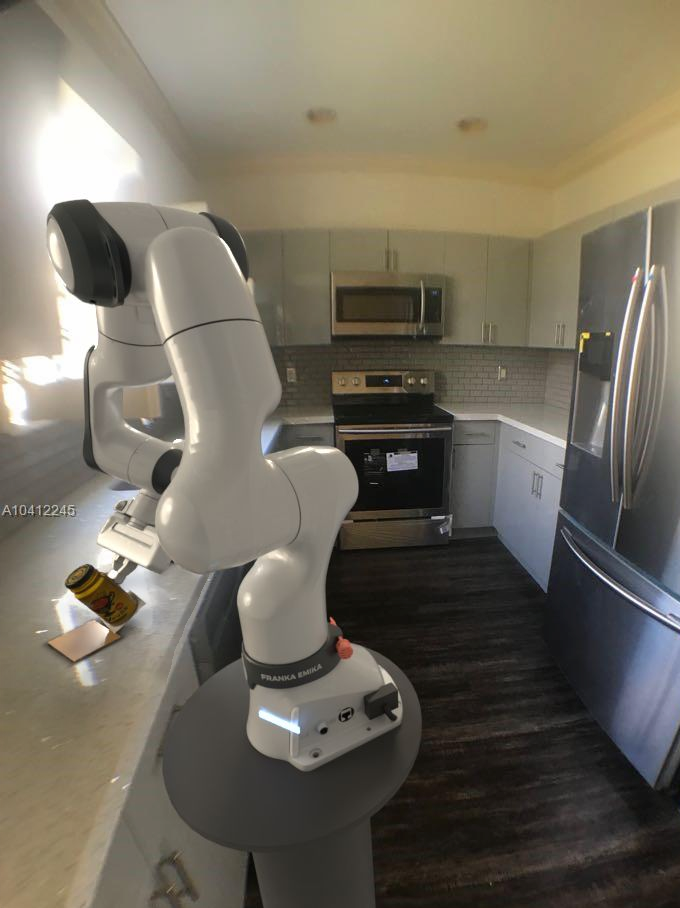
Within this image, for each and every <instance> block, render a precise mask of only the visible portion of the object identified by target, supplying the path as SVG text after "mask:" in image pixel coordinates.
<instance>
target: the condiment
mask: <svg viewBox="0 0 680 908" xmlns="http://www.w3.org/2000/svg"><path fill="white" fill-rule="evenodd" d="M64 586H65V588H66V589H67V590H69V591H70V592H71V593H73V596H74V598H75V600H78V601H79V602H80V603H82V604H83V605H84V606H86V608H88V609H89V610H91V612H92V613H94V614H96V615H97V616H98V617H99V620H100V621H101V622H102V623H103V624H104V625H105V626H106V627H107V628H108V629H109V630H111V631H112V632H113V633H116V634H117V632H118V631H119V630H120V629H122V628H123V626H125V625H126V624H127V623H128V622H129V621H130V620H131V619H132V618H133V617H134V616H135V615H137V614H138V612H139V611H140V610H141V609H142V608H143V607H144V606H146V605H147V602H146V601H144V600H143V599H142V598H141V597H139V596H138V595H137V594H136V593H135V592H134V591H132V590H131V589H129V590H128V591H126V590H125V589H124V588H122V587H121V586H120V585H119V583H115V582H114V581H113V580H112V579H111V578H110V577H108V576H107V575H106V574H105V573H103V572H99V571H98V570H97V568H96V567H95V566H93V565H92V564H90V563H85V564H82V565H80V566H79V567H77V568H76V569H74V570H73V571H72V572H70V573H69V574H68V576H67V577H66V579H65V580H64Z"/></svg>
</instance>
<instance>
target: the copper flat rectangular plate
mask: <svg viewBox="0 0 680 908" xmlns="http://www.w3.org/2000/svg"><path fill="white" fill-rule="evenodd" d="M121 638H122V636H121V635H119V634H118V633H117V632H116V633H113V632H112V631H111V630H110V629H109V628H108V627H107V626H105V625H103V624H101V623H100V622H97V621H96V620H94V619H92V620H91V621H88V622H86V623H84V624H83V625H82V624H81V625H80V626H77V627H76V628H74V629H72V630H70V631H68V632H66V633H64V634H62V635H59V636H58V637H55V638H53V639H51V640H49V641H47V644H48V645H50V646H51V647H52V648H54V649H55V650H56V651H57V652H59V653H61V654H62V655H63V656H65V657H66V658H67V659H69V660H70V661H72V663H77V662H79V661H80V660H82V659H84V658H86V657H88V656H90V655H92V654H93V653H95V652H98V651H99V650H101V649H103V648H105V647H107V646H108V645H110V644H112V643H114V642H116V641H118V640H120V639H121Z"/></svg>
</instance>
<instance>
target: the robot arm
mask: <svg viewBox="0 0 680 908" xmlns="http://www.w3.org/2000/svg"><path fill="white" fill-rule="evenodd" d="M45 231H46V232H45V244H46V250H47V255H48V257H49V261H50V263H51V266H52V267H53V269H54V272H55V273H56V275H57V276H58V277H59V279H60V281H61V282H62V284H63V286H64V288H65V289H66V291H67V292H68V293H69V294H71V296H73V297H75V298H76V299H78V300H79V301H80V302H82V303H84V304H87V305H93V310H94V320H95V326H96V334H97V336H96V337H97V338H96V339H97V340H96V343H94V344H92V345H91V347H89V349H88V350H87V352H86V354H85V357H84V362H83V405H84V411H83V412H84V428H83V429H84V430H83V435H82V439H81V446H80V447H81V454H82V455H81V456H82V457H83V461H84V462H85V464H86V465H87V467H88V468H89V469H90V470H93V471H95V472H98V473H101V474H104V475H107V476H109V477H113V478H116V479H118V480H121V481H123V482H125V483H127V484H130V485H132V486H134V487H137V488H139V489H140V490H139V491H138V492H137V494H136V495H135V497H131V498H128V499H120V500H118V501H116V502H115V504H114V506H113V508H112V509H113V511H115V512H112V513H111V514H110V515H109V516H108V518H107V519H106V521H105V523H104V524H103V526H102V527H101V529H100V531H99V533H98V534H97V537H96V545H97V546H99V547H102V548H104V549H106V550H108V551H110V552H111V553H114V556H113V558H112V559H111V564H112V565H111V570H110V572H109V573H108V575H107V576H108V577H110V578H111V579H112V580H113V581H114V582H117V584H123V583H124V581H125V580H126V578H127V577H128V576H129V575H131V574H132V573H133V572H134V571H135V570H136V569H137V567H138V566H140V567H142V568H144V569H146V570H148V571H151V572H153V573H155V574H159V575H161V574H164V572H166V571H167V570H168V568H169V566H170V564H171V563H170V562H171V560H173V561H174V564H176V565H177V566H179V567H180V568H181V569H183V570H185V571H187V572H189V573H192V574H195V575H205V574H206V575H207V574H210V573H216V572H221V571H225V570H228V569H233V568H236V567H241V566H244V565H246V564H248V563H250V562H252V561H255V560H256V561H255V562H254V563H253V565H252V567H251V568H250V570H249V571H248V572H247V574H246V575H245V576H244V578H243V579H242V581H241V583H240V585H239V587H238V591H237V597H236V605H237V611H238V617H239V622H240V628H241V634H242V639H243V640H242V642H241V658H242V661H243V667H244V672H245V677H246V681H247V682H248V685H249V687H250V707H249V715H248V720H247V735H248V738H249V741H250V742H251V744H252V745H253V746H254V748H255V749H257V750H258V751H259V752H261V753H262V754H264V755H266V756H269V757H272V758H276V759H280V760H285V761H288V762H290V763H291V764H292V765H294V766H295V767H296V768H298V769H299V770H301V771H305V772H308V771H312V770H314V769H316V768H318V767H320V766H321V765H323V764H325V763H327V762H329V761H331V760H333V759H335V758H337V757H339V756H341V755H343V754H345V753H347V752H349V751H351V750H353V749H355V748H357V747H358V746H360V745H362V744H364V743H366V742H368V741H370V740H372V739H374V738H376V737H378V736H380V735H382V734H384V733H386V732H388V731H390V730H392V729H393V728H395V727H397V726H399V725H400V724H401V722H402V718H403V706H402V700H401V696H400V694H399V691H398V689H397V687H396V685H395V683H394V681H393V680H392V678H391V677H390V675H389V674H388V673H387V672H386V671H385V670H384V669H383V668H382V667H381V666H379V665H378V664H377V662H376V661H375V659H374V658H373V657H372V655H371V654H370V653H369V652H368V651H367V650H366V649H365V648H363V647H364V646H363V645H360V644H357V643H353V642H350V640H348V639H346V638H344V635H343V634H344V633H343V631H342V629H341V627H339V626H338V625H337V624H336V621H335V620H334V618H333V617H332V616H330V617H329V619H330V622H329V621H328V618H327V617H328V616H327V615H328V614H327V597H326V596H327V595H326V594H327V593H326V584H327V583H326V582H327V573H328V568H329V564H330V560H331V557H332V553H333V549H334V546H335V542H336V539H337V537H338V534H339V532H340V530H341V527H342V525H343V522H344V521H345V519H346V517H347V515H348V514H349V512H350V511H351V509H352V508H353V507H354V506H355V504H356V502H357V499H358V496H359V478H358V474H357V471H356V469H355V467H354V465H353V463H352V461H351V460H350V459H349V457H348V456H347V455H346V454H345V453H344V452H343V451H342V450H340V449H338V448H337V447H335V446H330V445H300V446H299V445H298V446H294V447H291V448H288V449H287V448H286V449H283V450H279V451H276V452H272V453H268V454H264V453H263V447H262V431H263V426H264V423H265V421H266V420H267V419H268V418H270V416H271V415H272V414H273V413H274V412H275V411H276V409H277V408H278V406H279V404H280V402H281V400H282V394H283V387H282V383H281V379H280V376H279V372H278V369H277V366H276V363H275V360H274V355H273V353H272V350H271V346H270V344H269V341H268V336H267V335H266V330H265V328H264V325H263V321H262V319H261V315H260V312H259V309H258V307H257V304H256V302H255V299H254V296H253V294H252V292H251V289H250V286H249V284H248V281H249V275H250V263H249V255H248V251H247V247H246V243H245V242H244V239H243V238H242V235H241V234H240V233H239V231H238V228H237V227H236V226H235V225H234V224H233V223H232V222H231V221H230V220H227V219H225V218H224V217H222V216H219V215H217V214H213V213H210V212H206V211H200V212H198V213H197V212H193V211H188V210H184V209H180V208H174V207H168V206H161V205H154V204H152V203H150V202H138V201H98V202H92V201H90V200H89V199H87V198H83V199H82V198H81V199H71V200H66V201H60V202H57V203H55V204H54V205H53V206H52V208H51V210H50V211H49V213H48V214H47V216H46V230H45ZM171 377H172V378H173V381H174V384H175V387H176V391H177V394H178V398H179V402H180V406H181V410H182V414H183V421H184V422H183V423H184V439H179V438H178V439H176V440H175V439H174V441H172V442H171V441H166V440H162V439H159V438H157V437H155V436H152V435H150V434H147V433H145V432H142V431H140V430H138V429H136V428H134V427H133V426H131V425H130V424H129V423H127V421H126V420H125V419H124V417H123V407H124V406H123V405H124V404H123V403H124V388H133V389H139V388H146V387H147V388H148V387H152V386H154V385H159V384H160V383H163V382H165V381H166V380H168V379H169V378H171ZM352 643H353V644H352ZM356 644H357V645H356ZM359 645H360V646H359ZM362 646H363V647H362ZM315 756H318V757H317V758H314V757H315Z"/></svg>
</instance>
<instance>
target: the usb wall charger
mask: <svg viewBox="0 0 680 908" xmlns="http://www.w3.org/2000/svg"><path fill="white" fill-rule="evenodd" d="M111 565H112V563H105V564H100V565H99V566H98V567H97V568H96V569H97V570H98V571H99V572H103V573H105V574H106V575H108V573H109V572H110V570H111ZM115 583H117V582H115ZM117 584H118V583H117Z"/></svg>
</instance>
